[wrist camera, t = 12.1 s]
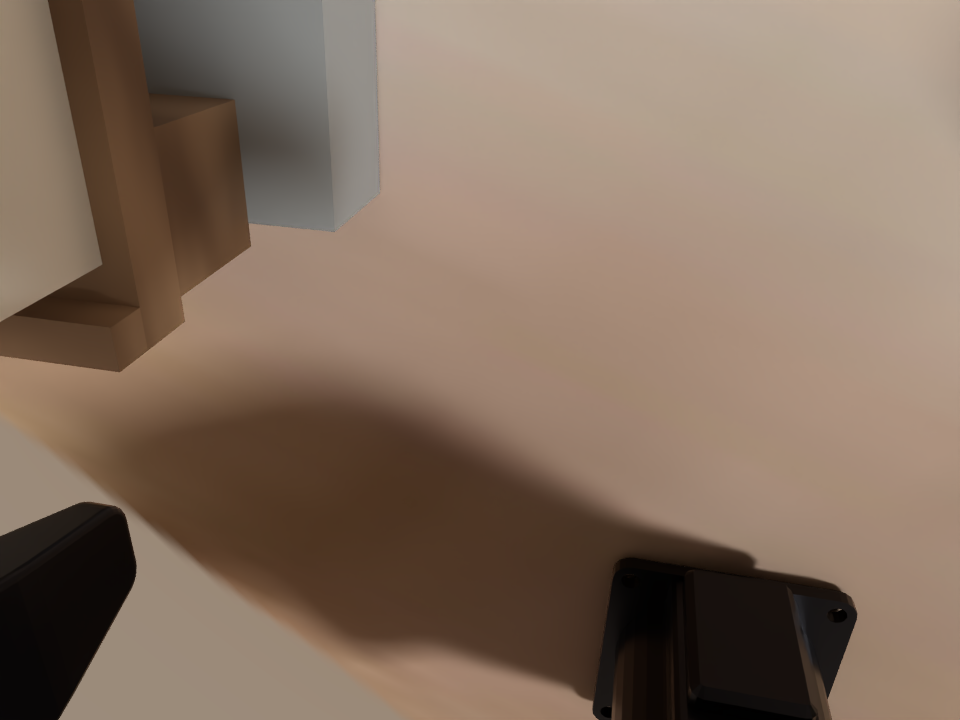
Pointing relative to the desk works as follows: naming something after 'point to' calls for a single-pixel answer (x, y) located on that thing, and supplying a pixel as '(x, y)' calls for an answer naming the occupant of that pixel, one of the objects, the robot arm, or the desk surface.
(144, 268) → the pallet
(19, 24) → the block
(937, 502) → the desk surface
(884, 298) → the desk surface
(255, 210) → the dock
